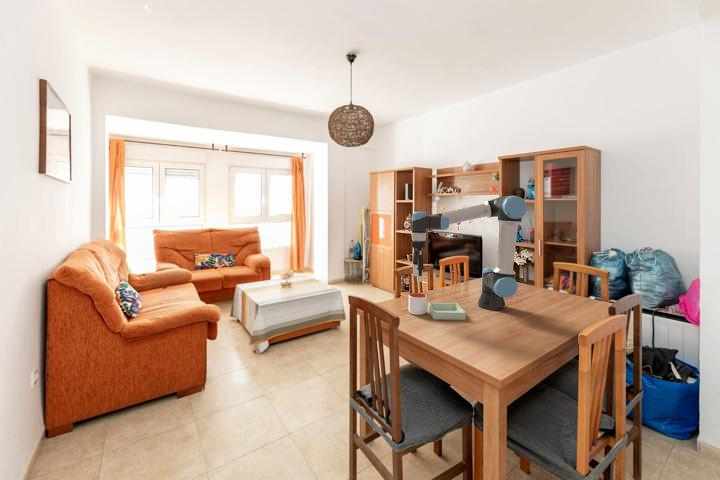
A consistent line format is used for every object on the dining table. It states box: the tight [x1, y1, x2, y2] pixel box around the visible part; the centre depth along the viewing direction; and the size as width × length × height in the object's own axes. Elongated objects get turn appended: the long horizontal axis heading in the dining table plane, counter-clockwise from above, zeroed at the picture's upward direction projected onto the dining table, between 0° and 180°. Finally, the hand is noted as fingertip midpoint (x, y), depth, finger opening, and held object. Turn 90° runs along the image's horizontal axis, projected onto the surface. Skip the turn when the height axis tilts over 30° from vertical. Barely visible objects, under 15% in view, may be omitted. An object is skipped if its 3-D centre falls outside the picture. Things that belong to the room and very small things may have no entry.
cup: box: [407, 292, 428, 316], centre depth 181 cm, size 10×10×10 cm
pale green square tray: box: [427, 301, 467, 321], centre depth 178 cm, size 16×16×4 cm
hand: (417, 278), depth 179 cm, fingers open, 13 cm apart
